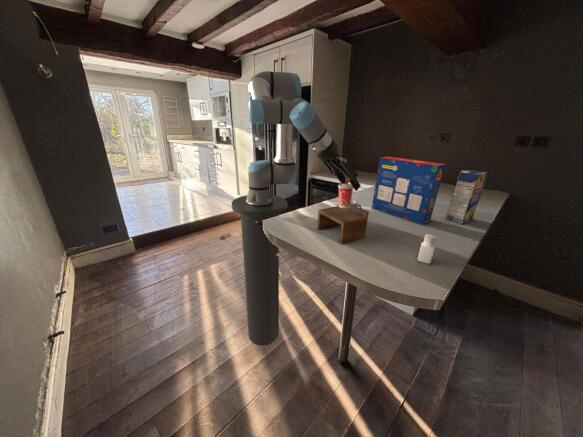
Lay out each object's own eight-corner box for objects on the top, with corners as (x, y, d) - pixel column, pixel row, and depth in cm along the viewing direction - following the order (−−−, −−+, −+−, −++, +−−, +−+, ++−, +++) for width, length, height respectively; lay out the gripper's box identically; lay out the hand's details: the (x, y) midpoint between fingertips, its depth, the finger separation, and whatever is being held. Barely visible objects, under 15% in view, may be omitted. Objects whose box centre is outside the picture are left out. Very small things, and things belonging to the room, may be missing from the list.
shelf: (317, 228, 103) (318, 204, 99) (339, 223, 110) (341, 200, 105) (341, 244, 91) (344, 217, 86) (364, 236, 97) (369, 211, 93)
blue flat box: (430, 221, 115) (445, 164, 104) (422, 224, 110) (438, 165, 99) (379, 205, 135) (388, 156, 124) (371, 208, 130) (380, 157, 120)
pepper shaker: (417, 261, 80) (423, 236, 77) (418, 256, 84) (424, 232, 80) (430, 265, 78) (437, 240, 75) (430, 259, 82) (437, 235, 78)
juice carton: (456, 214, 124) (470, 169, 115) (472, 219, 118) (488, 172, 109) (445, 219, 118) (459, 172, 109) (461, 224, 112) (478, 175, 103)
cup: (359, 214, 120) (362, 200, 117) (360, 220, 113) (363, 205, 110) (338, 212, 122) (340, 198, 119) (338, 218, 115) (340, 203, 112)
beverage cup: (334, 205, 97) (336, 171, 92) (346, 203, 99) (349, 170, 94) (341, 209, 92) (344, 174, 87) (355, 207, 93) (358, 173, 89)
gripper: (301, 150, 87) (331, 187, 101) (334, 156, 72) (364, 199, 86) (313, 135, 88) (341, 174, 102) (349, 138, 73) (376, 184, 87)
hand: (351, 186), depth 94 cm, fingers closed on beverage cup, 6 cm apart
